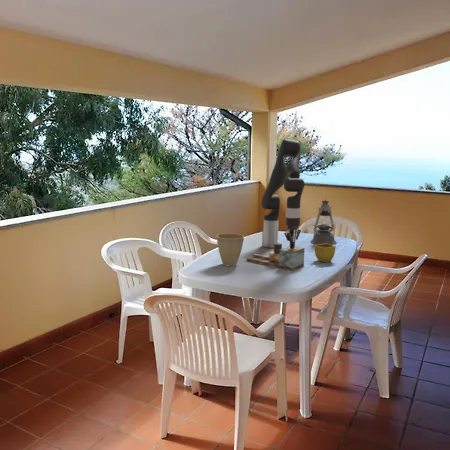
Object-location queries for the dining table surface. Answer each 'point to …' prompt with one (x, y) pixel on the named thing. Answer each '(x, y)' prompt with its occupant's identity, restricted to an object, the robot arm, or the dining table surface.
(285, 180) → the robot arm
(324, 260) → the flower pot
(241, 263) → the dining table surface
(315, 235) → the lantern
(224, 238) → the plant pot
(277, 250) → the carriage
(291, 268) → the rail rig
